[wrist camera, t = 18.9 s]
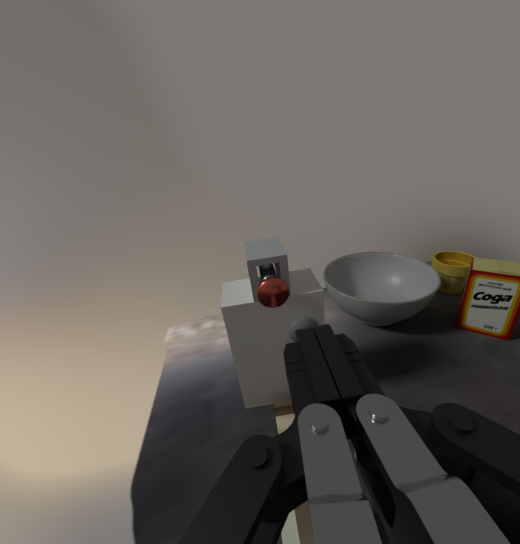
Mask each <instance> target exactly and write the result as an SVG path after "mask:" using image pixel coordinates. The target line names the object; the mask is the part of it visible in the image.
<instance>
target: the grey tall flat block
mask: <svg viewBox="0 0 520 544" xmlns="http://www.w3.org/2000/svg"><path fill="white" fill-rule="evenodd" d="M244 243H245V251H246V259H247V266H248V271H249V277H250V278H249V279H242V280H237V281H230V282H225V283H223V288H222V301H221V309H222V314H223V318H224V322H225V326H226V330H227V334H228V338H229V342H230V346H231V350H232V354H233V358H234V362H235V366H236V371H237V375H238V379H239V383H240V387H241V391H242V395H243V399H244V403H245V407H246V409H249V408H254V407H260V406H266V405H271V404H274V403H275V402H281V401H287V400H291V396H290V391H289V386H288V381H287V376H286V369H285V362H284V356H283V352H284V349H285V345H286V344H287V343H293V342H296V337H295V330H297V329H303V328H309V327H314V326H320V325H324V294H323V289H322V287H321V286H320V284H319V283H318V281H317V279H316V278H315V276H314V274H313V273H312V271H311V269H310V268H309V269H303V270H297V271H291V272H289V271H288V261H287V254H286V252H285V250H284V247H283V245H282V243H281V241H280V239H279V237H272V238H266V239H260V240H254V241H248V242H244ZM271 263H274V264H275V272H276V276H277V277H278V278H281V279H283V280H284V281H285V282H286V284H287V286H288V289H289V297H288V299H287V301H286V302H285V303H284V304H283V305H281V306H279V307H276V308H269V307H265V306H263V305H262V304H261V303H260V302H259V300H258V296H257V288H258V285H259V284H260V282H261V281H262V280H261V276H260V277H258V276H257V269H256V266H259V265H265V264H271Z"/></svg>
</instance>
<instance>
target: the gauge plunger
mask: <svg viewBox="0 0 520 544" xmlns="http://www.w3.org/2000/svg"><path fill="white" fill-rule="evenodd" d="M259 270H260V275H261V280H262V281H261V282H260V284H259V285H258V288H257V296H258V300H259V302H260V303H261V304H262V305H263V306H265V307H269V308H276V307H279V306H281V305H283V304H284V303H285V302H286V301H287V299H288V297H289V289H288V286H287V284H286V282H285V281H284V280H283V279H281V278H278V277H277V276H276V273H275V270H274V267H273V264H272V263H271V264H265V265H259Z"/></svg>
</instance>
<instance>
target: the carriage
mask: <svg viewBox="0 0 520 544" xmlns="http://www.w3.org/2000/svg"><path fill="white" fill-rule="evenodd" d="M281 534H282V542H283V544H314V540H313V533H312V525H311V518H310V511H309V504H308V500H307V501H306V502H304V503H303V504H301V505H300V506H299V507H297V508H296V509H294V510H293V511H291V512H290V513H289V515H288V518H287V520H286V522H285V525H284V527H283V530H282V532H281Z"/></svg>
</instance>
